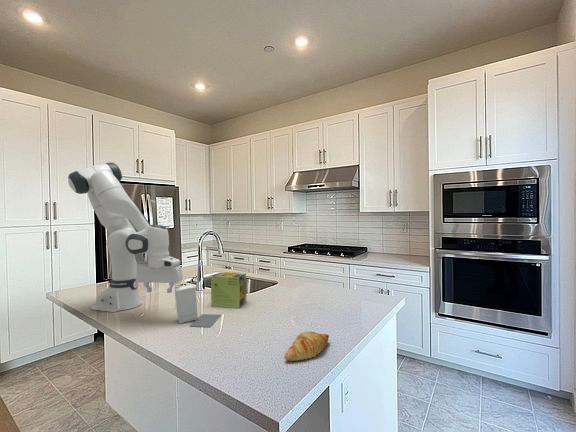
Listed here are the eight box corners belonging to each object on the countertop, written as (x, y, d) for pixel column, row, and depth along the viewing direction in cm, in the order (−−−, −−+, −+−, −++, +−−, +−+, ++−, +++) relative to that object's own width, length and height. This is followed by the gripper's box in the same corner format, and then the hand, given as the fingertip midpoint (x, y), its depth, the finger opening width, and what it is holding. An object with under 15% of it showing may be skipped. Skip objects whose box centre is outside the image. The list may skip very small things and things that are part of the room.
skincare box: (196, 315, 137) (194, 283, 136) (198, 320, 132) (196, 286, 131) (176, 319, 134) (174, 286, 133) (178, 324, 128) (175, 289, 127)
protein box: (239, 308, 148) (239, 277, 147) (210, 306, 151) (210, 275, 150) (247, 301, 158) (246, 272, 157) (219, 300, 161) (219, 271, 161)
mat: (189, 326, 125) (189, 326, 125) (202, 314, 139) (202, 314, 139) (210, 327, 124) (210, 326, 124) (221, 315, 138) (221, 314, 138)
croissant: (291, 377, 94) (300, 359, 91) (272, 352, 100) (279, 335, 97) (333, 352, 109) (341, 336, 106) (314, 332, 115) (321, 316, 112)
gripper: (132, 262, 131) (133, 293, 131) (177, 262, 129) (177, 294, 129) (140, 259, 137) (141, 289, 138) (183, 260, 135) (184, 290, 136)
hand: (159, 292), depth 134 cm, fingers open, 8 cm apart
